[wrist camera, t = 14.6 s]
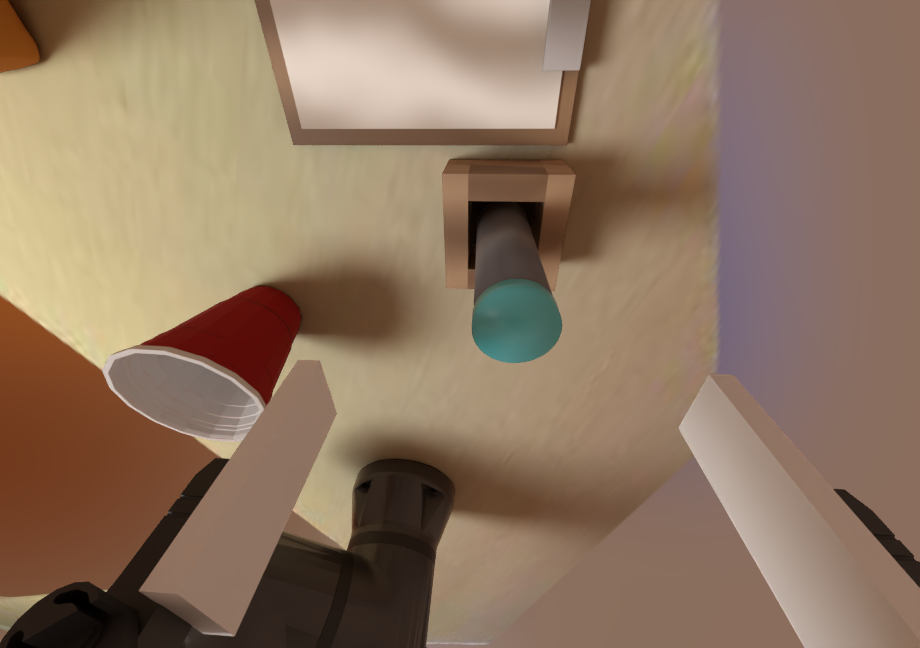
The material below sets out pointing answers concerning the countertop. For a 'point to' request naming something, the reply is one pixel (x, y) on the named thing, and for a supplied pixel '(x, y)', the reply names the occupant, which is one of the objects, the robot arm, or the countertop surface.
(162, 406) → the plastic cup
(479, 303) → the marker
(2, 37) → the coffee package
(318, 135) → the clipboard
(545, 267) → the stand
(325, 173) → the countertop surface
